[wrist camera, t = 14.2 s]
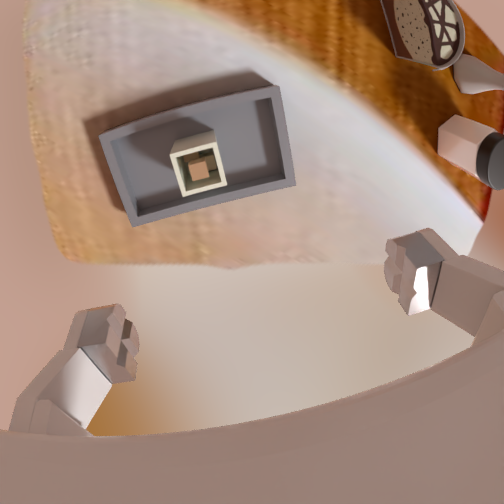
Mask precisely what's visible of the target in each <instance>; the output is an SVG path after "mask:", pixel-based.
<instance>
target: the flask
mask: <svg viewBox="0 0 504 504" xmlns="http://www.w3.org/2000/svg"><path fill="white" fill-rule="evenodd" d="M454 80H455V81H456V83H457V85H458V87H459V89H460V91H461V93H467V94H476V93H479V92H483V91H488V90H494V89H499V90H504V74H502V73H500V72H497V71H495V70H494V69H492V68H491V67H489V66H488V65H486V64H485V63H483V62H482V61H480V60H479V59H477V58H476V57H474V56H471V55H466V54H461V55H460V57H459V59H458V60H457V61H456V62H455V63H454Z"/></svg>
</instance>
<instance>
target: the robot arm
mask: <svg viewBox="0 0 504 504" xmlns="http://www.w3.org/2000/svg"><path fill="white" fill-rule="evenodd" d="M385 251H386V252H387V254H388V255H389V257H388V258H387V260H386V261H385V263H384V274H385V279H386V282H387V284H388V286H389V287H390V289H391V291H392V292H395V293H397V294H399V299H398V302H399V303H400V305H401V306H402V308H403V309H404V311H405V312H406V314H407V315H408V316H409V315H412V314H415V313H418V312H421V311H424V310H427V309H430V308H431V310H432V311H434V312H436V313H437V314H439V315H441V316H442V317H444V318H445V319H447V320H449V321H450V322H452V323H454V324H455V325H457V326H458V327H460V328H461V329H463V330H465V331H467V332H468V333H469V334H471V335H473V336H474V337H475V338H474V341H473V342H472V345H471V347H470V348H468V349H466V350H464V351H462V352H460V353H458V354H456V355H453V356H451V357H449V358H447V359H445V360H443V361H440V362H438V363H436V364H434V365H431V366H429V367H427V368H424V369H422V370H420V371H417V372H415V373H413V374H410V375H407V376H405V377H402V378H400V379H397V380H395V381H392V382H389V383H387V384H384V385H381V386H378V387H375V388H373V389H370V390H367V391H364V392H361V393H358V394H355V395H352V396H349V397H346V398H342V399H339V400H336V401H332V402H329V403H325V404H322V405H318V406H314V407H311V408H307V409H303V410H300V411H295V412H291V413H287V414H283V415H279V416H274V417H269V418H265V419H260V420H255V421H250V422H244V423H239V424H233V425H227V426H221V427H214V428H208V429H201V430H192V431H184V432H174V433H163V434H150V435H132V436H94V435H92V434H91V433H89V432H88V431H87V430H86V428H87V426H88V424H89V422H90V421H91V419H92V418H93V416H94V414H95V413H96V411H97V409H98V408H99V406H100V404H101V403H102V401H103V399H104V398H105V396H106V395H107V393H108V391H109V390H110V388H111V386H112V384H113V383H121V382H127V381H134V380H135V379H136V369H137V362H136V360H135V359H134V356H135V355H136V354H137V353H138V351H139V337H138V333H137V330H136V328H135V326H134V325H133V323H132V322H130V321H129V320H127V319H125V316H126V312H125V310H124V309H123V307H122V306H121V305H120V304H113V305H108V306H102V307H97V308H91V309H87V310H82V311H78V312H77V313H76V314H75V316H74V319H73V322H72V325H71V327H70V330H69V333H68V336H67V339H66V342H65V345H64V348H63V350H60V351H59V352H58V353H57V354H56V355H55V356H54V357H53V358H52V359H51V360H50V361H49V363H48V364H47V365H46V366H45V367H44V368H43V369H42V370H41V371H40V373H39V374H38V375H37V376H36V377H35V378H34V379H33V381H32V382H31V383H30V384H29V385H28V386H27V387H26V389H25V390H24V391H23V392H22V393H21V394H20V396H19V397H18V398H17V401H16V404H15V408H14V412H13V415H12V419H11V423H10V427H9V431H7V430H0V504H504V271H503V270H500V269H498V268H495V267H493V266H490V265H488V264H485V263H483V262H480V261H477V260H475V259H472V258H470V257H467V256H465V255H460V256H459V255H458V254H457V253H456V252H455V251H454V250H453V249H452V248H451V247H450V246H449V245H448V244H447V243H446V242H445V241H444V240H443V239H442V238H441V237H440V236H439V235H438V234H437V233H436V232H435V231H434V230H433V229H430V228H426V229H422V230H419V231H416V232H414V233H410V234H406V235H403V236H399V237H395V238H391V239H388V240H387V243H386V250H385Z"/></svg>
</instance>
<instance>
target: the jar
mask: <svg viewBox="0 0 504 504" xmlns="http://www.w3.org/2000/svg"><path fill="white" fill-rule="evenodd" d="M438 155H439V156H441V157H442V158H444V159H445V160H446V161H448V162H449V163H451V164H452V165H454V166H456V167H457V168H459V169H461V170H463V171H464V172H466V173H468V174H470V175H471V176H473V177H475V178H476V179H478V180H480V181H481V182H483V183H484V184H486V185H488V186H490V187H491V188H493V189H495V190H501V189H504V135H503V134H500V133H498V132H497V131H496V130H495V129H494V128H491V127H489V126H486V125H484V124H481V123H478V122H476V121H473V120H470V119H467V118H465V117H462V116H459V115H456V114H455V115H454V116H452V117H451V118H450V119H449V120H447V121H446V122H445V123H444V124H443V125H441V126H440V127H439V128H438Z"/></svg>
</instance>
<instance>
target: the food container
mask: <svg viewBox="0 0 504 504" xmlns="http://www.w3.org/2000/svg"><path fill="white" fill-rule="evenodd" d="M380 2H381V5H382V8H383V11H384V14H385V18H386V21H387V25H388V28H389V32H390V36H391V40H392V43H393V47H394V51H395V56H396V57H397V58H401V59H406V60H410V61H414V62H418V63H422V64H425V65H429V66H433V67H436V68H438V69H434V70H432V71H436V70H441V69H445V68H447V67H449V66H451V65H452V64H454V63H455V62H456V61H457V60H458V59H459V57H460V55H461V53H462V51H463V48H464V43H465V30H464V24H463V21H462V17H461V15H460V13H459V10H458V9H457V7H456V5H455V4H454V2H453V1H452V0H380Z"/></svg>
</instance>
